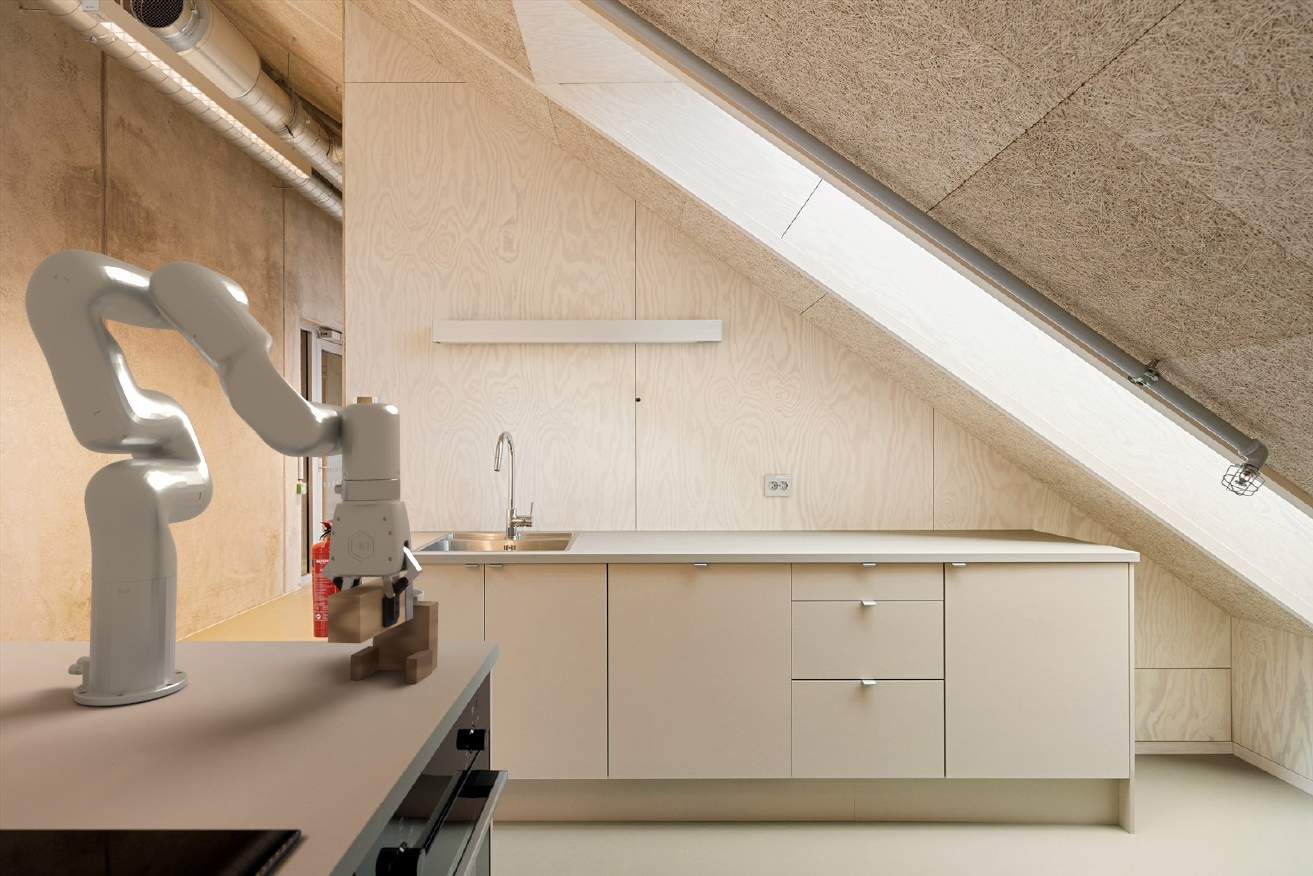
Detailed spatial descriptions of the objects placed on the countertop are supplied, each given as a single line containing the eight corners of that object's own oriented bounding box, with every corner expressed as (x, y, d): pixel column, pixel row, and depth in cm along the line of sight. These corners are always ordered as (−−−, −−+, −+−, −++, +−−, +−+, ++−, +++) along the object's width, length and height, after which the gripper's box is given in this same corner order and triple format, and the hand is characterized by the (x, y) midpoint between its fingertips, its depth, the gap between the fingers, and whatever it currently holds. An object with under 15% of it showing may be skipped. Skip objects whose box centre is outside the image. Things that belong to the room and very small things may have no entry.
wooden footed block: (350, 679, 105) (351, 604, 105) (378, 663, 113) (380, 593, 113) (416, 683, 104) (418, 607, 104) (440, 667, 112) (442, 596, 112)
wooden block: (326, 642, 94) (326, 596, 94) (382, 617, 107) (382, 576, 107) (361, 643, 93) (361, 596, 93) (413, 618, 107) (412, 577, 107)
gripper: (298, 494, 98) (299, 630, 98) (416, 494, 95) (417, 633, 95) (331, 491, 105) (331, 617, 105) (441, 490, 103) (442, 619, 103)
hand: (372, 623), depth 100 cm, fingers closed on wooden block, 4 cm apart
